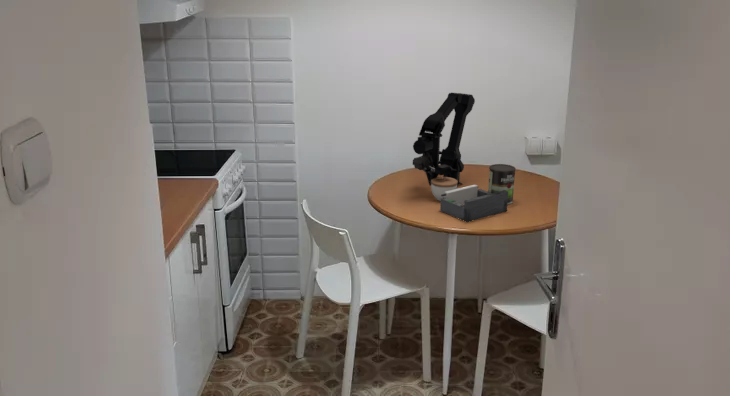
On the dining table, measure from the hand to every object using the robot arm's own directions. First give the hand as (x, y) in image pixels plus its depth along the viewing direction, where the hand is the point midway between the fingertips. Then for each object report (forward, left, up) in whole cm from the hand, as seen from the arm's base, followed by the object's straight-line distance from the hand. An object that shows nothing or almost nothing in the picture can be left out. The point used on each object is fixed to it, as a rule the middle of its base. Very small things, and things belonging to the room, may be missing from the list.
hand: (431, 185), depth 293 cm
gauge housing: (0, +25, -4) cm, 25 cm away
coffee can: (-17, +23, -4) cm, 29 cm away
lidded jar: (0, +8, -4) cm, 9 cm away
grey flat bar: (+1, +18, -3) cm, 18 cm away
